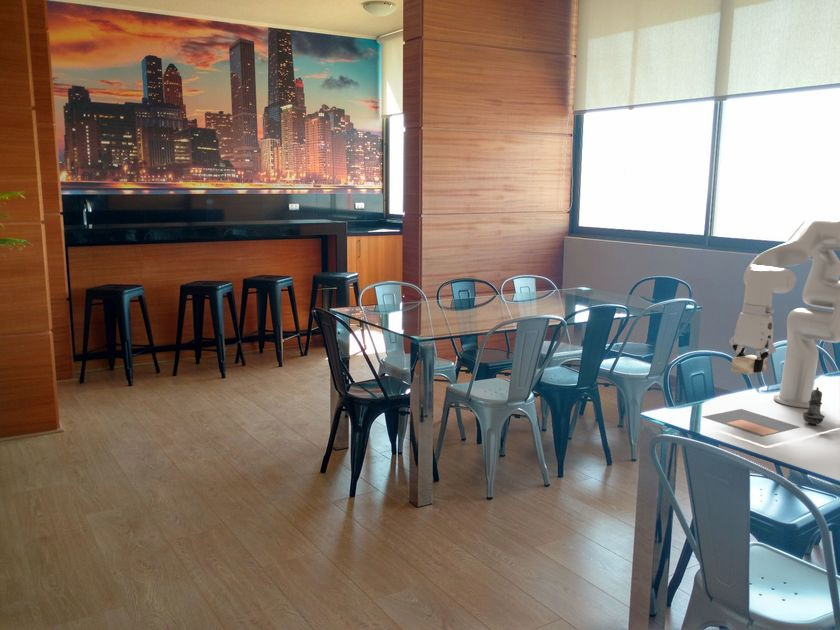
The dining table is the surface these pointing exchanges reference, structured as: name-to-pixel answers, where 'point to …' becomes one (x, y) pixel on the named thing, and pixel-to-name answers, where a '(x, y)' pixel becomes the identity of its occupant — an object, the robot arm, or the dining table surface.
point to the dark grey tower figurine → (814, 409)
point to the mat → (751, 422)
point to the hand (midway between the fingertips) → (748, 369)
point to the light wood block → (746, 364)
